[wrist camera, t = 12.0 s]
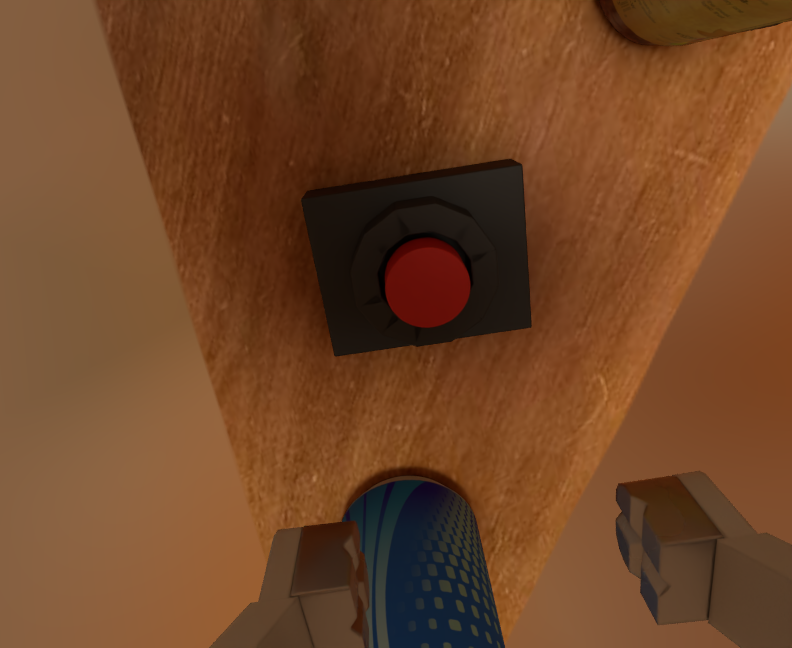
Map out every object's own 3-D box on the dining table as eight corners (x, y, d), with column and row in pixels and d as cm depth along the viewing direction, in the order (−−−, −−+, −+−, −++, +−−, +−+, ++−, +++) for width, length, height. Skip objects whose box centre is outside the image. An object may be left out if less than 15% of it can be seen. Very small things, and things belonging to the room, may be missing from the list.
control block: (337, 339, 30) (331, 373, 26) (306, 190, 27) (295, 206, 23) (521, 311, 30) (541, 343, 26) (511, 158, 26) (533, 169, 23)
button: (391, 318, 26) (392, 333, 24) (378, 243, 24) (378, 254, 23) (468, 306, 25) (474, 321, 24) (460, 230, 24) (466, 240, 22)
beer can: (313, 511, 34) (264, 827, 20) (422, 441, 32) (458, 731, 18) (394, 588, 37) (405, 916, 22) (499, 527, 35) (586, 841, 21)
